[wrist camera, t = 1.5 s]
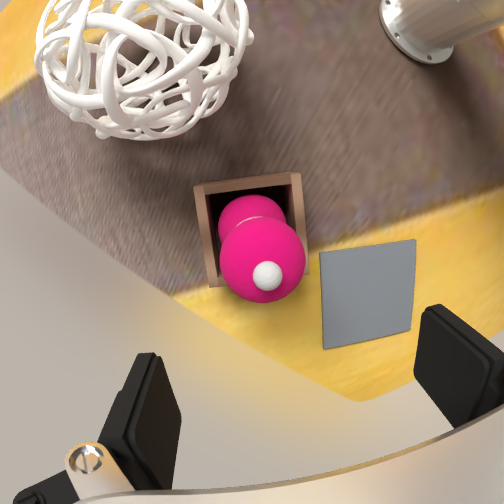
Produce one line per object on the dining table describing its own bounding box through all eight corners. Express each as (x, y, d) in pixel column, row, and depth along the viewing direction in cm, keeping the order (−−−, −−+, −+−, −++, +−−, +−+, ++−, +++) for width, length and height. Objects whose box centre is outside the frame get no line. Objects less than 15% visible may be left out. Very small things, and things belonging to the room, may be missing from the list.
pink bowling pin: (247, 262, 39) (262, 355, 20) (207, 219, 37) (180, 277, 18) (292, 223, 38) (352, 282, 19) (252, 178, 36) (276, 191, 17)
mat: (319, 252, 39) (320, 254, 38) (413, 239, 39) (416, 240, 39) (322, 347, 43) (323, 349, 42) (408, 328, 43) (410, 329, 43)
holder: (199, 183, 36) (193, 186, 30) (289, 171, 36) (300, 172, 30) (212, 269, 39) (209, 287, 33) (298, 258, 39) (309, 274, 33)
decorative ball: (150, 183, 36) (75, 202, 17) (63, 77, 31) (-31, 38, 12) (281, 77, 33) (325, 3, 15) (181, -20, 28) (155, -113, 10)
